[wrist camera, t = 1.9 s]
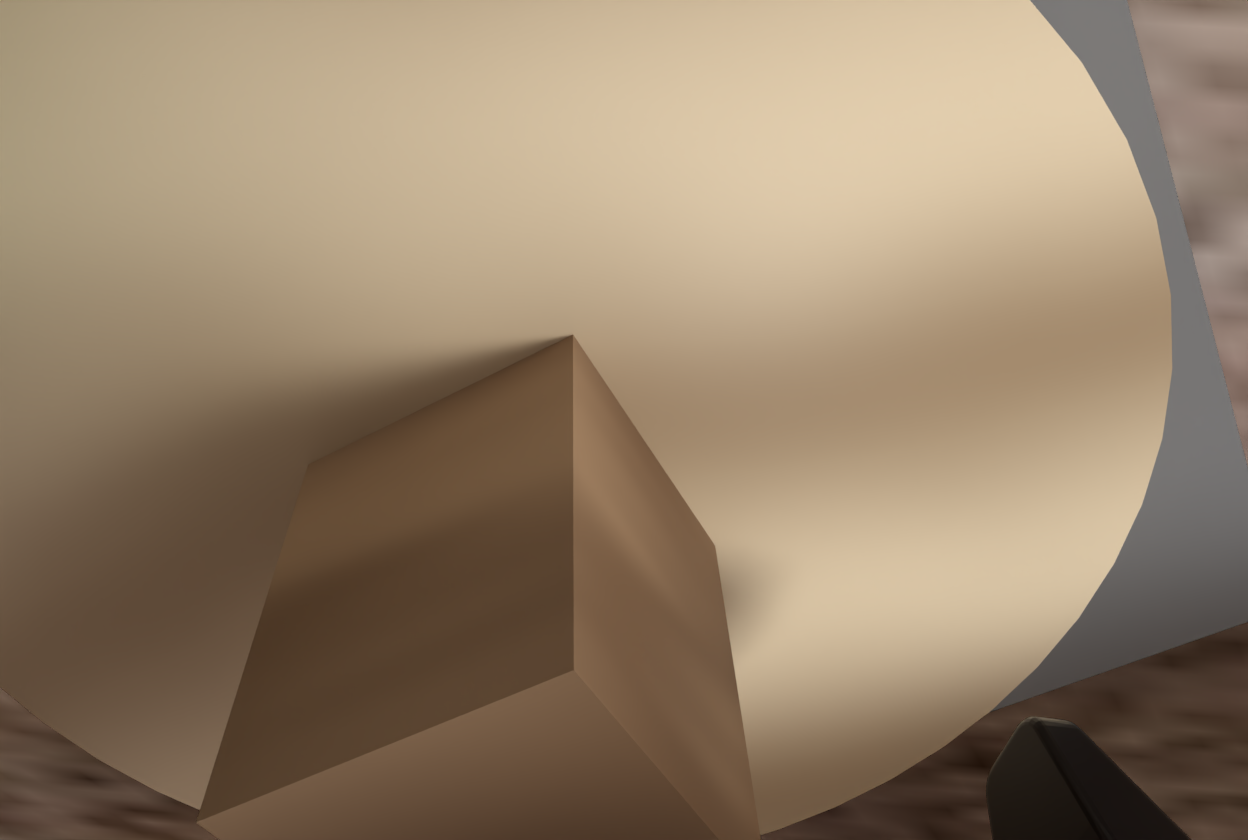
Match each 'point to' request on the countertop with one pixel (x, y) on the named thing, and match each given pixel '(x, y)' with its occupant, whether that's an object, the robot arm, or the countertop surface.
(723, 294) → the lid
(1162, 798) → the countertop surface
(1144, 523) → the plate
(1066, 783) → the robot arm
